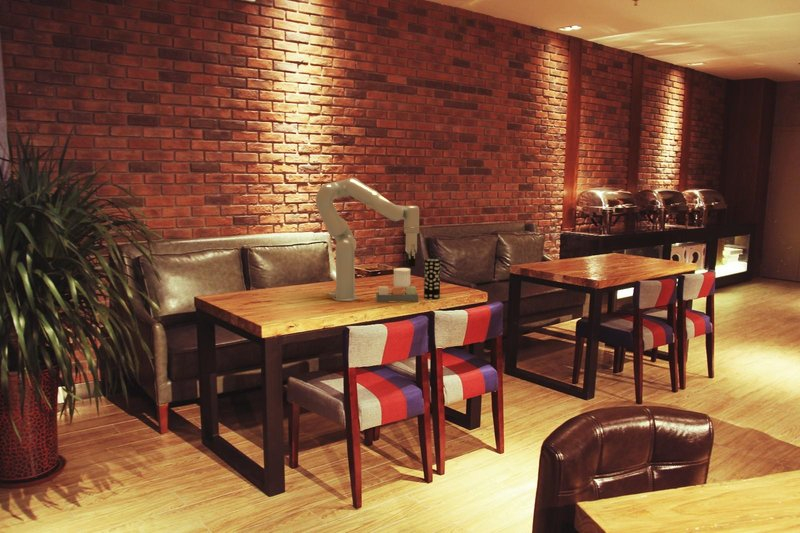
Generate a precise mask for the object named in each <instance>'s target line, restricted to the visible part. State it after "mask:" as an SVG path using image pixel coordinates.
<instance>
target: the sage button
mask: <svg viewBox="0 0 800 533" xmlns="http://www.w3.org/2000/svg"><path fill="white" fill-rule="evenodd" d="M404 288H405V291H404V292H405V294H406V295H416V293H417V288H416V286H415V285H414V286H413V285H410V286H405V287H404Z"/></svg>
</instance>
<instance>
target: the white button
mask: <svg viewBox="0 0 800 533" xmlns="http://www.w3.org/2000/svg"><path fill="white" fill-rule="evenodd" d="M377 293H378V295H388V293H389V286H388V285H385V286H383V285H381V286H380V285H379V286H377Z"/></svg>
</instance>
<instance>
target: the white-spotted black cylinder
mask: <svg viewBox="0 0 800 533" xmlns="http://www.w3.org/2000/svg"><path fill="white" fill-rule="evenodd" d="M441 262H442V261H441V259H439V258H425V259H424V272H423V273H424V274H423V276H424V277H423V298H424V299H425V298H427V299H426V300H440V299H441V267H442V265H441V264H442V263H441Z"/></svg>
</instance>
